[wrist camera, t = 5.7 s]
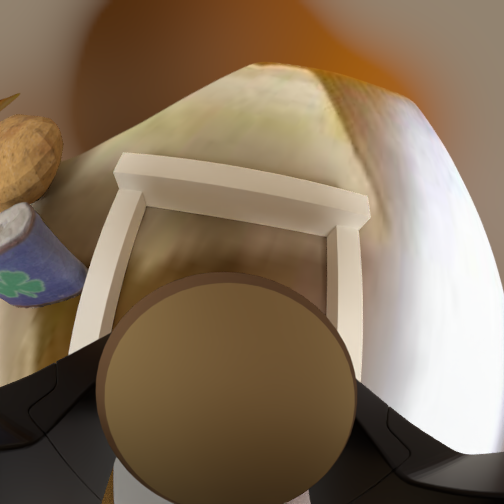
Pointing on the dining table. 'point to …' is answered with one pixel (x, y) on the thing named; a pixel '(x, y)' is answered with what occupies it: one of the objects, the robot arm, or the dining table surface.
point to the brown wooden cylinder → (226, 391)
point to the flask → (35, 261)
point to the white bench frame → (230, 207)
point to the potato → (27, 158)
